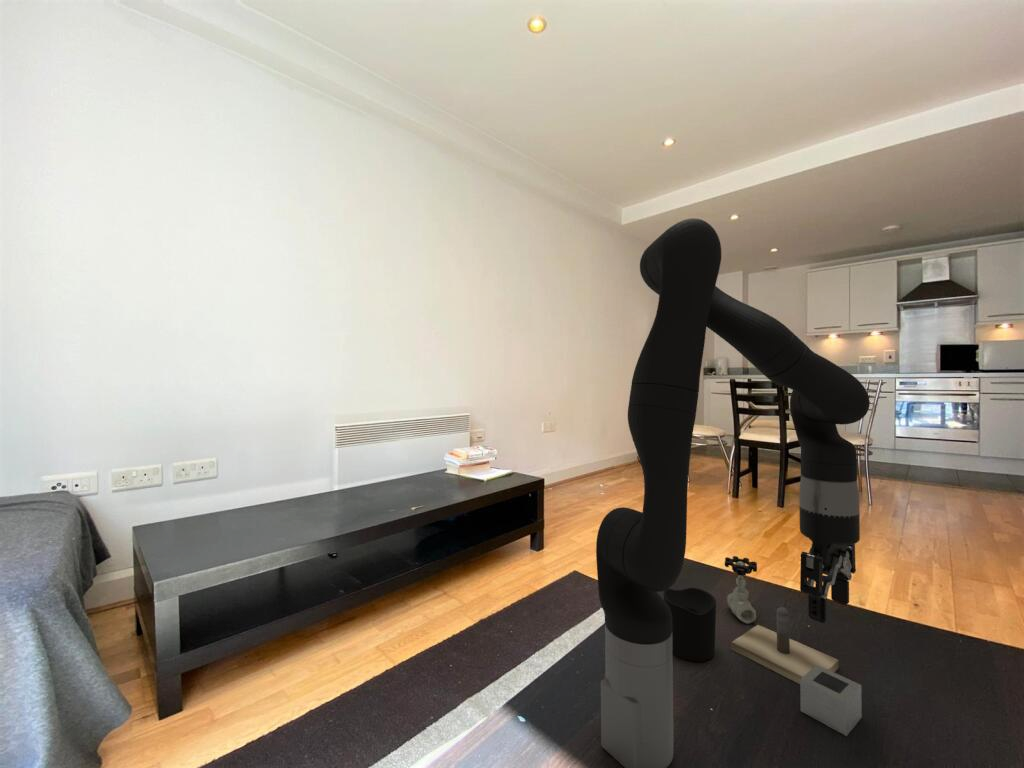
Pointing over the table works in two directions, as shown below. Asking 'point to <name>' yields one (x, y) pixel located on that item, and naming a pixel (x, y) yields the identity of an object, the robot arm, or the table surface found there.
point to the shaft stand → (781, 650)
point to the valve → (741, 589)
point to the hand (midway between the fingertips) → (829, 611)
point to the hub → (831, 699)
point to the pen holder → (692, 623)
